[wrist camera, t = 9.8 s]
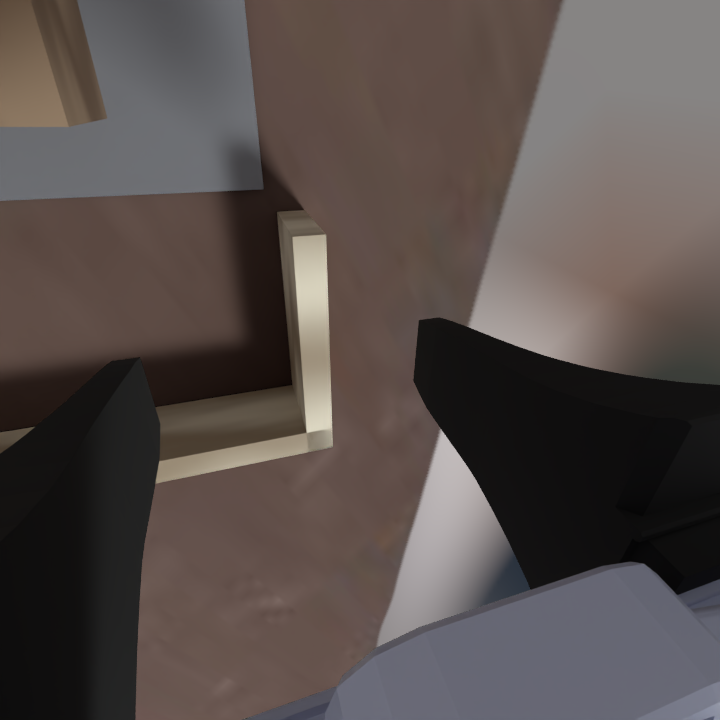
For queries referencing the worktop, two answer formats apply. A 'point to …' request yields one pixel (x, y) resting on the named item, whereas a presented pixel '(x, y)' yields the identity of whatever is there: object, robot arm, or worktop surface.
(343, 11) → the worktop surface
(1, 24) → the wooden cube
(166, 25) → the rubber mat
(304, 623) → the worktop surface
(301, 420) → the beige angled piece
